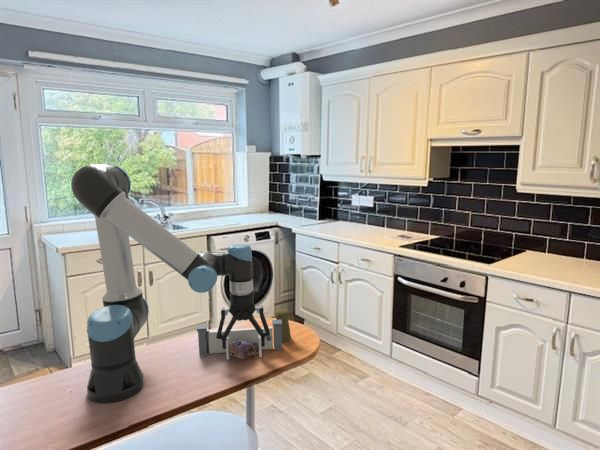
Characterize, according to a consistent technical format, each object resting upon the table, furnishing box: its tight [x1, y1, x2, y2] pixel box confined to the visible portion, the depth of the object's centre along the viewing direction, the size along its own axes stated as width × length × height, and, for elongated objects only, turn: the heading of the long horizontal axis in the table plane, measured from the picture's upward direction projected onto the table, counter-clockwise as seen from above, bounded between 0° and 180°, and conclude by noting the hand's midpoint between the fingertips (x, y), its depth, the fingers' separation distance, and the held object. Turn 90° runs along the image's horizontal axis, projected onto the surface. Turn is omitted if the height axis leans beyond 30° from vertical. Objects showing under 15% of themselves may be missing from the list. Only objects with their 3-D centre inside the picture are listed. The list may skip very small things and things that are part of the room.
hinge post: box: [196, 323, 209, 357], centre depth 142 cm, size 3×4×10 cm
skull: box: [229, 340, 259, 360], centre depth 140 cm, size 12×8×6 cm, turn 124°
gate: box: [206, 326, 274, 355], centre depth 144 cm, size 22×2×8 cm, turn 98°
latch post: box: [271, 319, 283, 352], centre depth 146 cm, size 3×4×10 cm
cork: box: [274, 309, 292, 344], centre depth 153 cm, size 6×6×11 cm
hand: (244, 356), depth 139 cm, fingers closed on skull, 10 cm apart
